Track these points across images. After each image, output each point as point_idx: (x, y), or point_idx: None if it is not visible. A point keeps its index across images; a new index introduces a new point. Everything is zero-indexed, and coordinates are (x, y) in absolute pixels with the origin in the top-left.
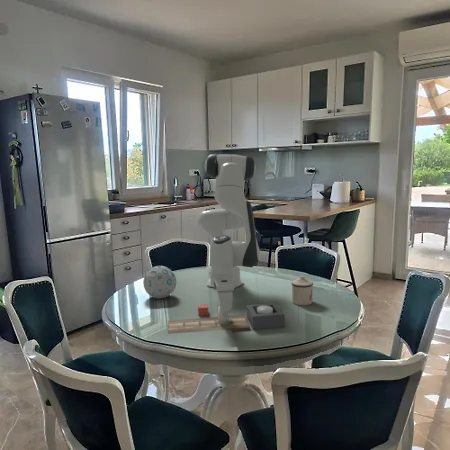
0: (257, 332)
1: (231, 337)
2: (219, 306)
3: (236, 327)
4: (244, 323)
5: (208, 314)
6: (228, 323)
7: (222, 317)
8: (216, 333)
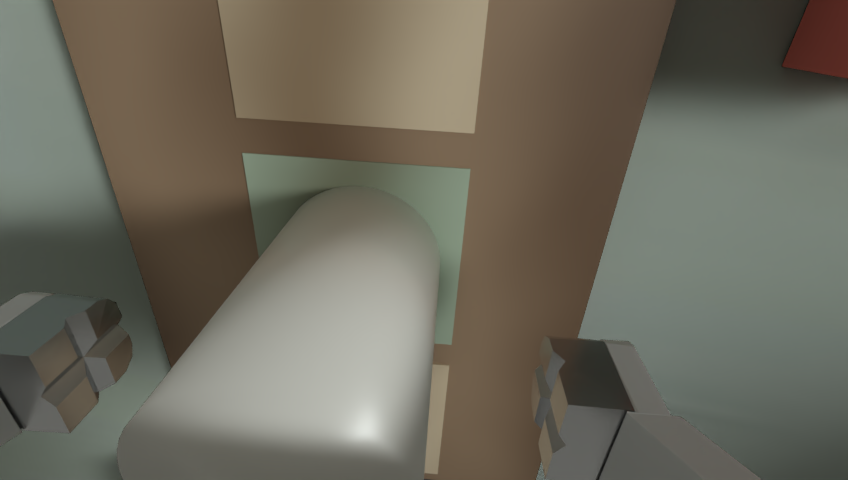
0: None
1: (8, 251)
2: (356, 442)
3: None
4: None
5: (822, 71)
6: None
7: (64, 312)
8: None
